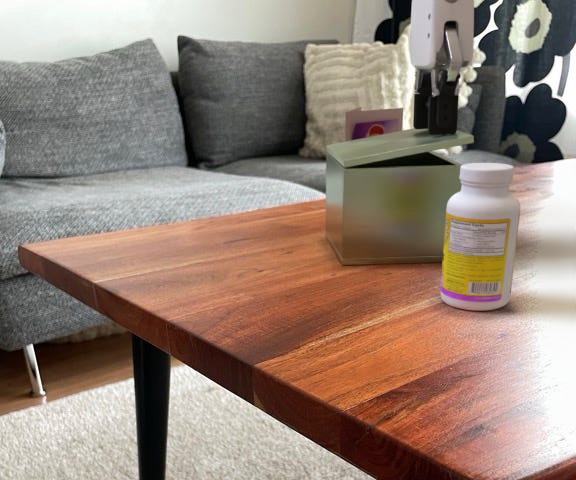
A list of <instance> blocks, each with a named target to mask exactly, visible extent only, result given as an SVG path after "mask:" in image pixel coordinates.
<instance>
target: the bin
mask: <svg viewBox="0 0 576 480" xmlns="http://www.w3.org/2000/svg"><path fill="white" fill-rule="evenodd" d="M325 156H326V158H325V223H324V224H325V229H324V230H325V232H324V233H325V234H324V235H325V239H326V240H327V243H328V244H329V245H330V247H331V249H332V250H333V252H334V254H335V256H336V258H337V260H338V261H339V263H340V265H341V266H364V265H365V266H366V265H395V264H400V265H401V264H431V263H443V249H444V236H445V223H446V209H447V203H448V201H449V199H450V198H451V197H452V196H453V195H454V194H456V193H458V192H460V191H461V186H462V183H461V179H459V177H460V167H461V166H462V165H463V164H462V163H460V162H458V161H455V160H453V159H451V158H449V157H448V156H445V155H442V154H440V153H438V152H436V151H435V150H434V151H429V152H424V153H419V154H414V155H408V156H403V157H398V158H393V159H388V160H383V161H378V162H373V163H367V164H362V165H357V166H352V167H347V168H344V167H343V166H342V165H341V164H340V163H339V162H338V161H337V160H336V159H335V158H333V157H332V156H331V155H330V154H329V153H328V152H327V151H326V154H325Z"/></svg>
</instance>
